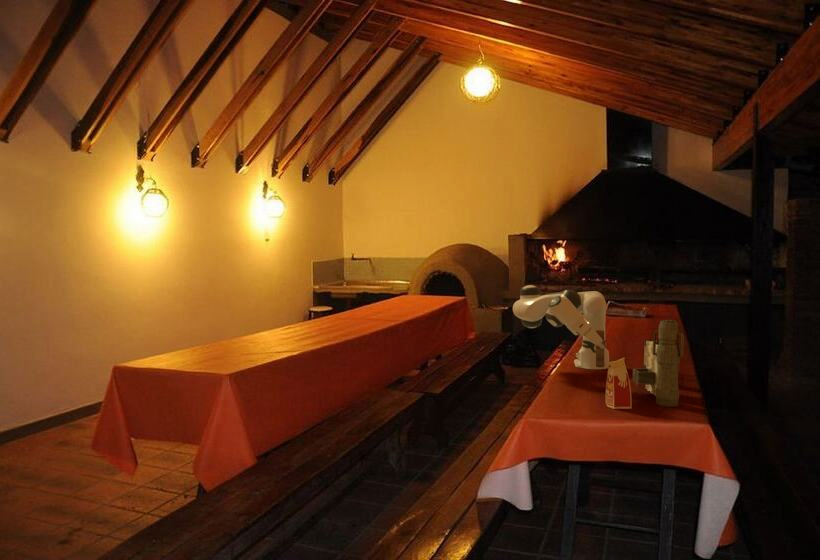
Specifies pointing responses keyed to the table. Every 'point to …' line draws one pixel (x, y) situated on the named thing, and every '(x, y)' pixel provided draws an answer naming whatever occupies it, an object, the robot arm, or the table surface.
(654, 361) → the bracket
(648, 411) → the table surface
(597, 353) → the cylinder
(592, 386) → the table surface
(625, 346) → the table surface
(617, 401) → the milk carton
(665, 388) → the thermos
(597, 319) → the robot arm
